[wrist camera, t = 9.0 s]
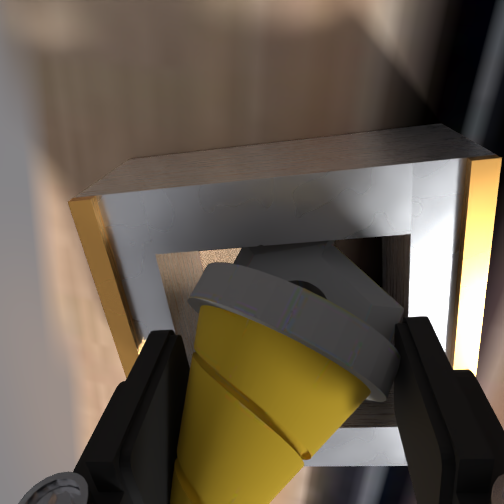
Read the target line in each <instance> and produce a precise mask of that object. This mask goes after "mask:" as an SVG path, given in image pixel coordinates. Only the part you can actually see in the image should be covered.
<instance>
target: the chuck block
mask: <svg viewBox="0 0 504 504" xmlns="http://www.w3.org/2000/svg"><path fill="white" fill-rule="evenodd" d="M501 160H502V158H501V157H499V156H498V155H496V154H494V153H492V152H490V151H489V150H487V149H485V148H483V147H482V146H480V145H478V144H476V143H475V142H473V141H471V140H469V139H468V138H466V137H464V136H462V135H461V134H459V133H457V132H455V131H453V130H452V129H450V128H448V127H446V126H445V125H443V124H432V125H423V126H414V127H406V128H397V129H388V130H379V131H371V132H362V133H353V134H344V135H336V136H327V137H318V138H309V139H301V140H292V141H283V142H274V143H266V144H257V145H248V146H239V147H231V148H222V149H213V150H204V151H196V152H187V153H178V154H169V155H161V156H152V157H143V158H134V159H128V160H127V161H126V162H124V163H123V164H121V165H120V166H118V167H117V168H116V169H114V170H113V171H111V172H110V173H108V174H107V175H106V176H104V177H103V178H101V179H100V180H98V181H97V182H95V183H94V184H93V185H91V186H90V187H88V188H87V189H85V190H84V191H83V192H81V193H80V194H78V195H77V196H75V197H74V198H73V199H71V200H70V201H68V204H69V207H70V210H71V213H72V216H73V219H74V222H75V225H76V228H77V231H78V234H79V237H80V240H81V243H82V246H83V249H84V252H85V255H86V258H87V261H88V264H89V267H90V270H91V273H92V276H93V279H94V282H95V285H96V288H97V291H98V294H99V297H100V300H101V303H102V306H103V309H104V312H105V315H106V318H107V321H108V324H109V327H110V330H111V333H112V336H113V339H114V342H115V345H116V348H117V351H118V354H119V357H120V360H121V363H122V366H123V369H124V372H125V375H126V378H127V377H128V375H129V373H130V371H131V369H132V367H133V365H134V363H135V361H136V359H137V357H138V355H139V353H140V351H141V349H142V347H143V345H144V343H145V341H146V339H147V337H148V335H149V333H150V332H151V331H153V330H174V332H175V334H176V335H181V336H182V339H183V343H184V347H185V351H186V355H187V359H188V363H189V367H190V366H191V360H192V354H193V353H194V352H196V351H195V349H194V342H195V336H196V330H197V323H198V317H199V314H198V313H197V312H196V311H195V310H194V309H193V308H192V307H191V306H190V305H189V303H188V301H187V300H188V298H189V297H190V295H191V293H192V291H193V290H194V288H195V286H196V284H197V283H198V281H199V279H200V277H201V276H202V274H203V267H202V262H201V258H200V253H199V251H204V250H217V249H229V248H242V247H254V246H267V245H279V244H292V243H304V242H317V241H329V240H342V239H354V238H367V237H379V236H382V289H383V290H384V291H385V292H386V293H388V294H389V295H390V296H391V297H392V298H393V299H394V300H395V301H396V302H398V303H399V304H400V305H401V306H402V307H403V308H404V311H403V314H402V316H401V319H400V321H399V323H402V321H403V318H404V317H416V316H428V318H429V319H430V321H431V324H432V326H433V328H434V330H435V332H436V334H437V336H438V339H439V341H440V343H441V345H442V347H443V349H444V351H445V353H446V356H447V358H448V360H449V362H450V364H451V366H452V368H453V370H459V369H469V370H471V371H472V372H473V374H474V375H475V377H476V370H477V361H478V353H479V345H480V336H481V328H482V319H483V311H484V303H485V294H486V286H487V277H488V269H489V260H490V252H491V244H492V235H493V227H494V218H495V210H496V202H497V193H498V185H499V176H500V168H501ZM394 340H395V334H394V337H393V339H392V342H391V344H392V345H393V346H394ZM303 462H304V466H408V465H407V461H406V457H405V453H404V449H403V445H402V442H401V438H400V434H399V430H398V426H397V422H396V418H395V413H394V382H393V385H392V387H391V390H390V392H389V395H388V398H387V400H386V401H384V402H376V401H371V400H366V399H365V400H364V401H363V402H362V403H361V404H360V406H359V407H358V408H357V409H356V410H355V411H354V412H353V413H352V414H351V415H350V416H349V417H348V419H347V420H346V421H345V422H344V423H343V424H342V425H341V426H340V427H339V428H338V429H337V430H336V432H335V433H334V434H333V435H332V436H331V437H330V438H329V439H328V440H327V441H326V442H325V443H324V445H323V446H322V447H321V448H320V449H319V450H318V451H317V452H316V453H315V454H314V455H313V456H312V458H311V459H309V460H303Z"/></svg>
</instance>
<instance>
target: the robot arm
mask: <svg viewBox="0 0 504 504" xmlns="http://www.w3.org/2000/svg"><path fill="white" fill-rule="evenodd" d="M394 347H395V348H396V349H397V351H398V352H399V354H400V356H401V360H400V366H399V369H398V371H397V374H396V377H395V379H394V413H395V418H396V422H397V426H398V430H399V434H400V438H401V442H402V445H403V449H404V453H405V457H406V461H407V465H408V469H409V473H410V477H411V481H412V484H413V488H414V492H415V496H416V500H417V504H504V430H503V428H502V426H501V424H500V422H499V420H498V419H497V417H496V415H495V413H494V411H493V409H492V407H491V405H490V403H489V401H488V399H487V398H486V396H485V394H484V392H483V390H482V388H481V386H480V384H479V382H478V380H477V379H476V377H475V375H474V374H473V372H472V371H471V370H469V369H459V370H453V368H452V366H451V364H450V362H449V360H448V358H447V356H446V353H445V351H444V349H443V347H442V345H441V343H440V341H439V339H438V336H437V334H436V332H435V330H434V328H433V326H432V324H431V321H430V319H429V318H428V316H416V317H404V318H403V321H402V323H396V324H395V340H394ZM189 372H190V367H189V363H188V359H187V355H186V351H185V347H184V343H183V339H182V336H181V335H176V334H175V332H174V330H153V331H151V332H150V333H149V335H148V337H147V339H146V341H145V343H144V345H143V347H142V349H141V351H140V353H139V355H138V357H137V359H136V361H135V363H134V365H133V367H132V369H131V371H130V373H129V375H128V377H127V379H126V381H123V382H121V383H120V384H119V385H118V386H117V388H116V390H115V392H114V393H113V395H112V397H111V399H110V401H109V403H108V405H107V407H106V409H105V411H104V413H103V415H102V417H101V419H100V421H99V422H98V424H97V426H96V428H95V430H94V432H93V434H92V436H91V438H90V440H89V442H88V444H87V446H86V448H85V449H84V451H83V453H82V455H81V457H80V459H79V461H78V463H77V465H76V467H75V469H74V471H73V472H63V473H57V474H54V475H52V476H50V477H47V478H45V479H44V480H42V481H40V482H39V483H37V484H36V485H35V486H33V488H31V489H30V490H29V491H28V492H27V493H26V494H25V495H24V497H23V498H22V499H21V501H20V502H19V503H18V504H170V497H171V487H172V478H173V471H174V464H175V460H176V459H177V457H178V456H177V446H178V439H179V433H180V427H181V421H182V415H183V409H184V403H185V397H186V391H187V384H188V378H189Z"/></svg>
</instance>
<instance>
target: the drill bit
mask: <svg viewBox="0 0 504 504" xmlns="http://www.w3.org/2000/svg"><path fill="white" fill-rule="evenodd" d="M334 242H335V240H329V241H317V242H304V243H292V244H279V245H267V246H254V247H242V249H241V250H240V252H239V254H238V256H237V258H236V260H235V261H234V263H233V264H231V263H225V262H214V263H211V264H208V265H207V267H206V269H205V270H204V272H203V274H202V276H201V277H200V279H199V281H198V283H197V284H196V286H195V288H194V290H193V291H192V293H191V295H190V297H189V298H188V300H187V301H188V303H189V305H190V306H191V307H192V308H193V309H194V310H195V311H196V312H197V313H198V314H199V317H198V323H197V330H196V336H195V342H194V349H195V351H196V352H194V353H193V354H192V360H191V366H190V372H189V378H188V384H187V391H186V397H185V403H184V409H183V415H182V421H181V427H180V433H179V439H178V446H177V456H178V457H177V459H176V460H175V464H174V471H173V478H172V487H171V497H170V504H269V503H270V502H271V501H272V500H273V499H274V498H275V496H276V495H277V494H278V493H279V492H280V491H281V490H282V489H283V488H284V487H285V486H286V485H287V484H288V482H289V481H290V480H291V479H292V478H293V477H294V476H295V475H296V474H297V473H298V472H299V471H300V469H301V468H302V467H303V466H304V462H303V460H309V459H311V458H312V456H313V455H314V454H315V453H316V452H317V451H318V450H319V449H320V448H321V447H322V446H323V445H324V443H325V442H326V441H327V440H328V439H329V438H330V437H331V436H332V435H333V434H334V433H335V432H336V430H337V429H338V428H339V427H340V426H341V425H342V424H343V423H344V422H345V421H346V420H347V419H348V417H349V416H350V415H351V414H352V413H353V412H354V411H355V410H356V409H357V408H358V407H359V406H360V404H361V403H362V402H363V401H364V400H365V399H366V400H371V401H376V402H384V401H386V400H387V398H388V395H389V392H390V390H391V387H392V385H393V382H394V379H395V377H396V374H397V371H398V369H399V366H400V360H401V356H400V354H399V352H398V351H397V349H396V348H395V347H394V346H393V345H392V344H391V342H392V339H393V337H394V334H395V324H396V323H399V321H400V319H401V316H402V314H403V311H404V308H403V307H402V306H401V305H400V304H399V303H398V302H396V301H395V300H394V299H393V298H392V297H391V296H390V295H389V294H388V293H386V292H385V291H384V290H383V289H382V288H381V287H380V286H379V285H378V284H376V283H375V282H374V281H373V280H372V279H371V278H370V277H369V276H367V275H366V274H365V273H364V272H363V271H362V270H361V269H360V268H359V267H357V266H356V265H355V264H354V263H353V262H352V261H351V260H350V259H349V258H347V257H346V256H345V255H344V254H343V253H342V252H341V251H340V250H339V249H337V248H336V247H335V246H334Z"/></svg>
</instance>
